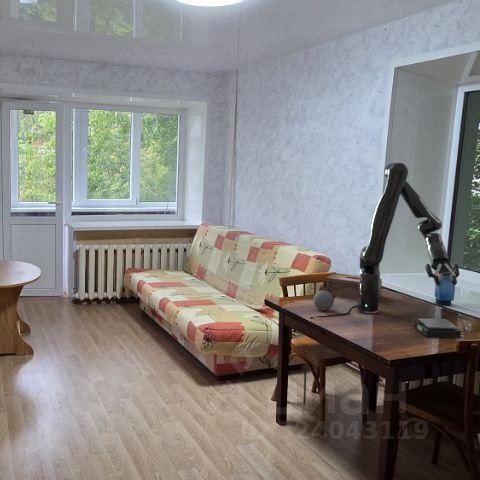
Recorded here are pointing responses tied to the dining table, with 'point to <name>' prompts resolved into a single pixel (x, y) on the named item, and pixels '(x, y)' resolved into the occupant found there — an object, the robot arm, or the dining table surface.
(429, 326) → the scale pan
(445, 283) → the perfume bottle
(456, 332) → the scale
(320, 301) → the decorative ball
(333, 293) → the tissue box cover
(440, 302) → the travel mug
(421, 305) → the dining table surface
